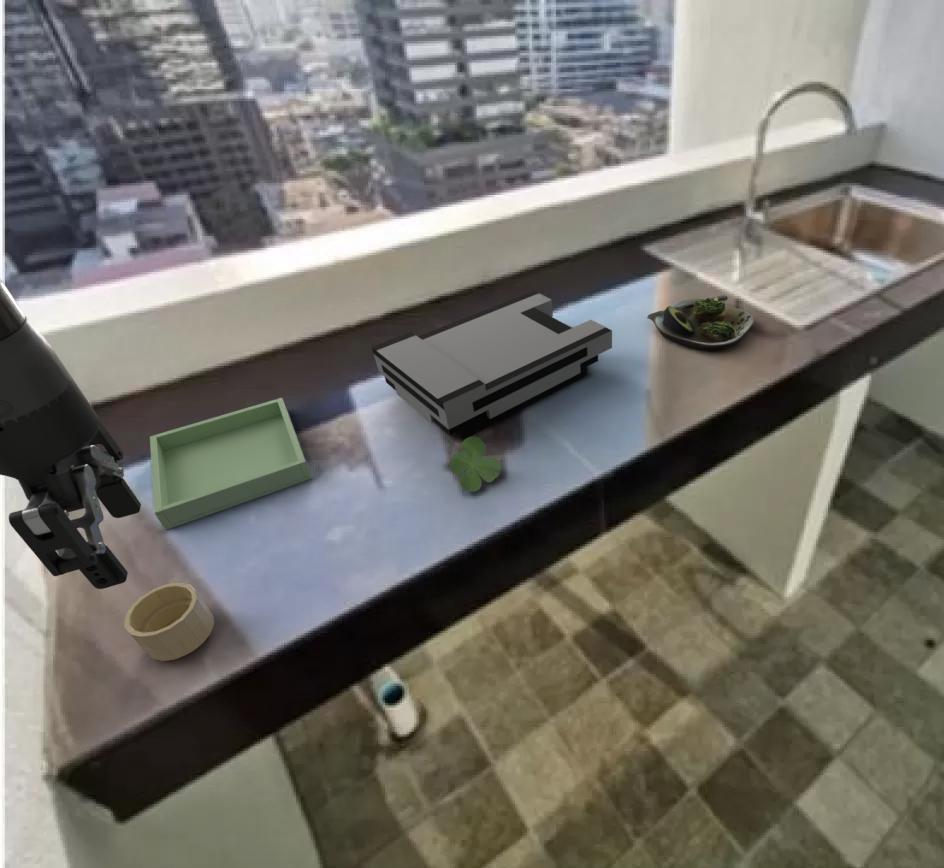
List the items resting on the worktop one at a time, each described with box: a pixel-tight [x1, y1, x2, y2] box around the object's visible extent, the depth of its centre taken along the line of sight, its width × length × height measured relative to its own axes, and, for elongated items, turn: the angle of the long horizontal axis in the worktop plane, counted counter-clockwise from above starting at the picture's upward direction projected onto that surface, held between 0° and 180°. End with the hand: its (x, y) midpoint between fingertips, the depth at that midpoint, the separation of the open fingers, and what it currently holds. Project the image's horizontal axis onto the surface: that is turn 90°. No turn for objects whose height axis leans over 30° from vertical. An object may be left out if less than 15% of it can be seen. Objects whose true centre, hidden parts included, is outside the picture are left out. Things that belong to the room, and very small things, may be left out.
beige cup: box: [124, 582, 215, 662], centre depth 62 cm, size 6×6×5 cm
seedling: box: [447, 436, 502, 492], centre depth 82 cm, size 7×8×7 cm
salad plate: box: [646, 295, 754, 352], centre depth 114 cm, size 19×18×5 cm
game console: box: [371, 290, 613, 441], centre depth 99 cm, size 21×32×8 cm, turn 133°
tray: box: [149, 397, 313, 531], centre depth 84 cm, size 18×18×3 cm
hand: (121, 546), depth 52 cm, fingers open, 8 cm apart
